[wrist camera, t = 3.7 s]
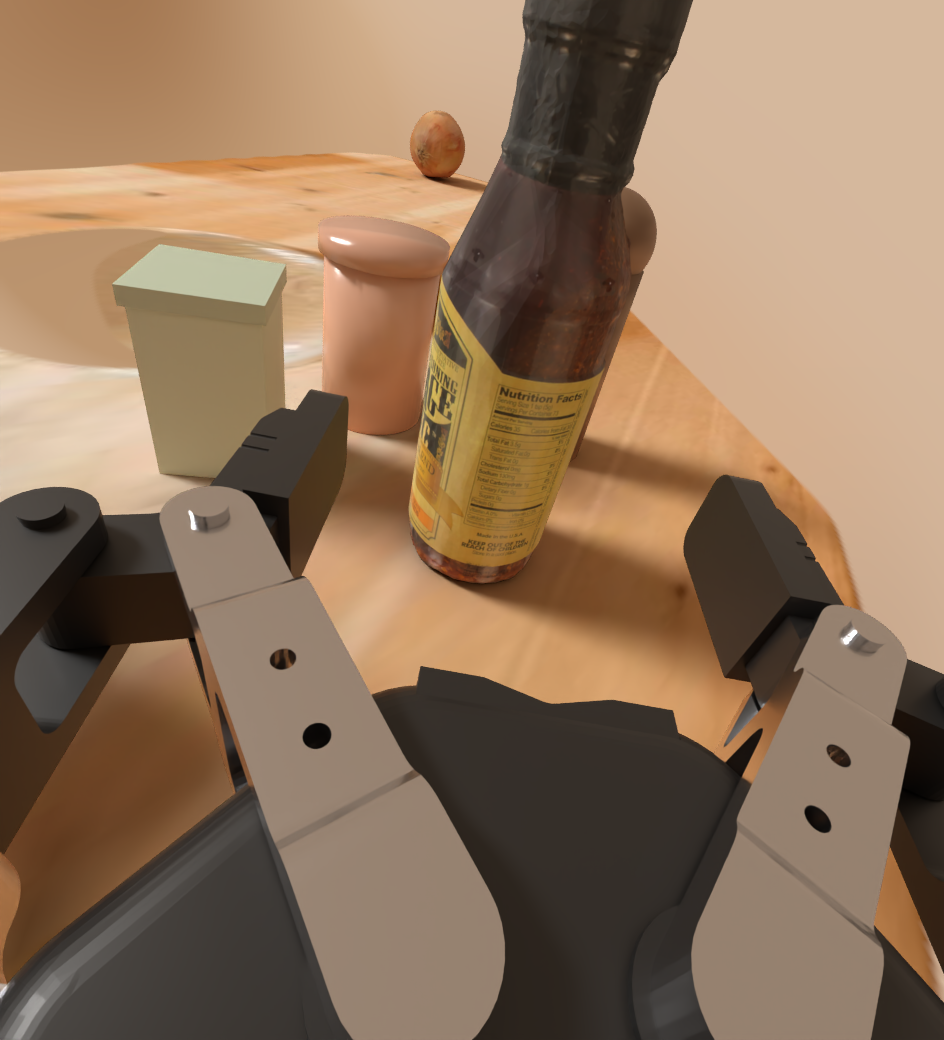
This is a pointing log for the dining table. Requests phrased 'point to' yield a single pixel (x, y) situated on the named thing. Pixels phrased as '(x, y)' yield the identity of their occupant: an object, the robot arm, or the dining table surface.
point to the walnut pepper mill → (641, 250)
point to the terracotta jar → (378, 317)
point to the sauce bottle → (536, 285)
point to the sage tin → (204, 351)
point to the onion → (437, 144)
